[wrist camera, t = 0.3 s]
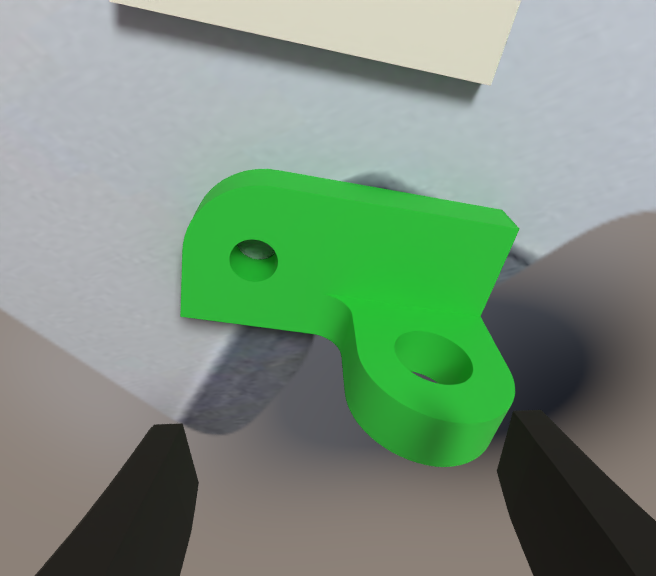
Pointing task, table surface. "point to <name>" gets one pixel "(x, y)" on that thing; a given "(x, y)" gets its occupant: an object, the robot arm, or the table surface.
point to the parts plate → (371, 28)
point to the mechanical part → (366, 298)
